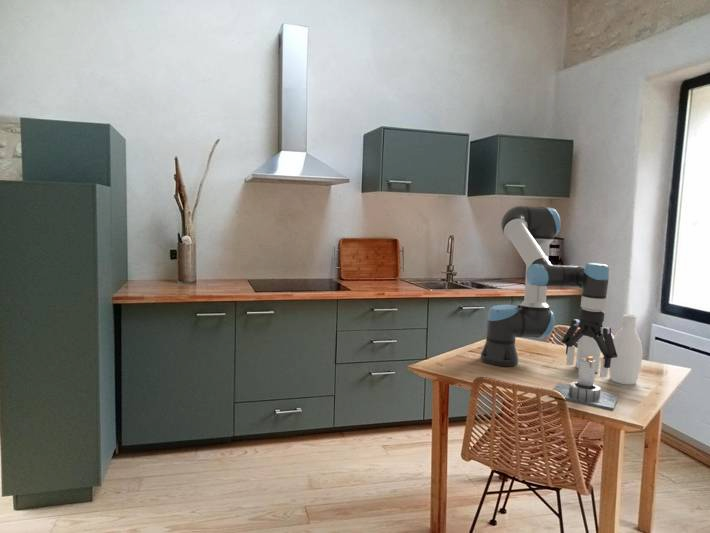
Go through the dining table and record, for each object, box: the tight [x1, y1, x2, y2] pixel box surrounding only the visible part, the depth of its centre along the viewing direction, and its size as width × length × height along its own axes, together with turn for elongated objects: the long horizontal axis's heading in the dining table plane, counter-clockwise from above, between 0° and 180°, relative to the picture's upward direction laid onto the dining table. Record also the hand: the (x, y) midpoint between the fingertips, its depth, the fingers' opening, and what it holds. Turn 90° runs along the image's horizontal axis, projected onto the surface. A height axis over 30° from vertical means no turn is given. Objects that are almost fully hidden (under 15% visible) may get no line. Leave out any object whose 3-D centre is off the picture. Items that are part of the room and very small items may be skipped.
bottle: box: [608, 313, 643, 386], centre depth 202 cm, size 11×11×25 cm
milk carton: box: [575, 335, 601, 374], centre depth 216 cm, size 7×7×19 cm
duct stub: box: [576, 356, 596, 389], centre depth 182 cm, size 5×5×13 cm
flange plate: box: [552, 380, 620, 411], centre depth 183 cm, size 20×16×4 cm
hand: (585, 370), depth 182 cm, fingers open, 13 cm apart
